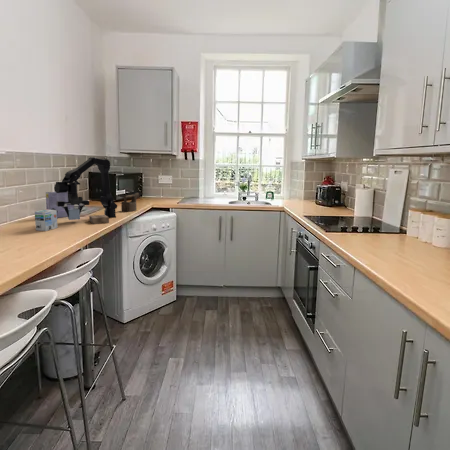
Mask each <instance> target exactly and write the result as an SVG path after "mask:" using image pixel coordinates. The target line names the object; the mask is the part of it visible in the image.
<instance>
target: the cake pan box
mask: <svg viewBox="0 0 450 450" xmlns="http://www.w3.org/2000/svg"><path fill="white" fill-rule="evenodd" d="M57 201H64V202H68V192H66V193H56V192H55V191H45V207H46V208H45V210H46V209H49V210H57V219H59V218H66V217H67V218H68V216H67V213H66V211H65V209H64V208H63V207H61V206H60V207H58V206H56V202H57ZM67 206H68V209H75V205H67Z"/></svg>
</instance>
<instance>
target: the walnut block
mask: <svg viewBox="0 0 450 450" xmlns="http://www.w3.org/2000/svg"><path fill="white" fill-rule="evenodd" d="M88 217H89V218H88V219H89V222H90V223H91V224H92V225H96V224H108V223H110V218H109V217H108V216H106V215H105V214H98V215H96V214H95V215H88Z"/></svg>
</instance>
